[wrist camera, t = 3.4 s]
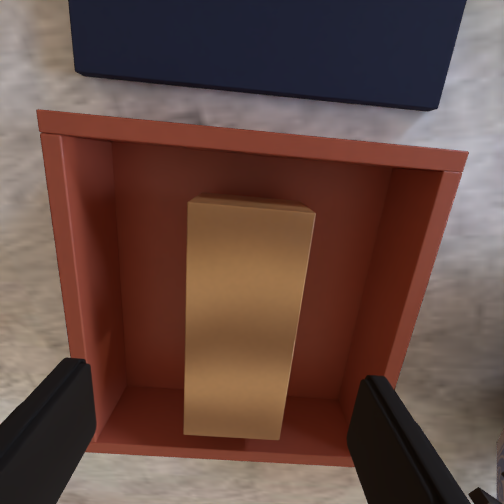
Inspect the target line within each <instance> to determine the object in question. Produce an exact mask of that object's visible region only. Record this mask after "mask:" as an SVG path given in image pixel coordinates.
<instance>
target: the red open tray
mask: <svg viewBox="0 0 504 504" xmlns="http://www.w3.org/2000/svg"><path fill="white" fill-rule="evenodd" d="M36 111H37V119H38V126H39V132H41V134H40V138H41V145H42V152H43V159H44V167H45V174H46V181H47V189H48V196H49V203H50V210H51V218H52V225H53V232H54V240H55V247H56V254H57V262H58V269H59V276H60V283H61V291H62V298H63V305H64V313H65V320H66V327H67V335H68V342H69V349H70V356H71V358H80V359H85V360H86V363H87V364H90V366H91V373H92V383H93V393H94V402H95V412H96V421H97V426H96V431H95V434H94V436H93V438H92V440H91V442H90V444H89V445H88V447H87V449H86V451H85V452H92V453H110V454H128V455H146V456H164V457H181V458H199V459H217V460H235V461H253V462H271V463H289V464H306V465H324V466H342V467H355V466H354V463H353V460H352V458H351V455H350V452H349V449H348V446H347V432H348V428H349V424H350V420H351V417H352V413H353V409H354V405H355V401H356V397H357V393H358V389H359V385H360V382H361V380H362V379H365V377H366V376H367V375H377V376H385V377H386V378H387V380H388V381H389V383H390V384H391V386H392V387H393V389H394V390H395V387H396V384H397V380H398V377H399V374H400V371H401V368H402V364H403V361H404V358H405V355H406V352H407V348H408V345H409V342H410V339H411V336H412V333H413V329H414V326H415V323H416V320H417V317H418V313H419V310H420V307H421V304H422V301H423V297H424V294H425V291H426V288H427V285H428V281H429V278H430V275H431V272H432V269H433V265H434V262H435V259H436V256H437V253H438V249H439V246H440V243H441V240H442V237H443V233H444V230H445V227H446V224H447V221H448V217H449V214H450V211H451V208H452V205H453V202H454V198H455V195H456V192H457V189H458V186H459V182H460V179H461V176H462V173H461V172H463V170H464V166H465V163H466V160H467V157H468V154H469V152H468V151H458V150H448V149H438V148H428V147H418V146H407V145H397V144H387V143H377V142H366V141H356V140H346V139H336V138H325V137H315V136H305V135H295V134H285V133H274V132H264V131H254V130H244V129H233V128H223V127H213V126H203V125H193V124H182V123H172V122H162V121H152V120H141V119H131V118H121V117H111V116H101V115H90V114H80V113H70V112H60V111H49V110H39V109H38V110H36ZM202 192H204V193H215V194H227V195H238V196H249V197H260V198H271V199H283V200H294V201H301V202H302V203H303V204H305V205H306V206H307V207H308V208H310V209H311V210H312V211H313V212H315V213H316V217H315V223H314V229H313V235H312V241H311V248H310V254H309V260H308V266H307V272H306V278H305V285H304V291H303V297H302V303H301V309H300V315H299V322H298V328H297V334H296V340H295V346H294V352H293V359H292V365H291V371H290V377H289V383H288V389H287V396H286V402H285V408H284V414H283V420H282V426H281V433H280V439H279V440H266V439H249V438H232V437H215V436H198V435H184V434H183V427H184V367H185V307H186V246H187V202H188V201H190V200H191V199H193V198H194V197H196V196H197V195H199V194H200V193H202Z"/></svg>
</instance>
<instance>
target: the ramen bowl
mask: <svg viewBox="0 0 504 504" xmlns="http://www.w3.org/2000/svg"><path fill="white" fill-rule="evenodd" d="M468 495H469V497H470V498H471V500H472V501H473V503H474V504H504V429H503V431H502V433H501V435H500V437H499V439H498V441H497V499H495V498H494V497H492V496H491V495H489V494H488V493H486V492H485V491H484V490H482V489H481V488H479V487H478V488H476V489H475V490H473V491H472V492H470V493H469V494H468Z"/></svg>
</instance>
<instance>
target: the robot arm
mask: <svg viewBox="0 0 504 504" xmlns="http://www.w3.org/2000/svg"><path fill="white" fill-rule="evenodd" d="M96 426H97V421H96V412H95V402H94V393H93V383H92V373H91V366H90V364H87V363H86V360H85V359H80V358H64V359H63V360H62V361H61V362H60V363H59V364H58V365H57V366H56V367H55V368H54V369H53V371H52V372H51V373H50V374H49V375H48V376H47V377H46V378H45V379H44V380H43V381H42V382H41V383H40V385H39V386H38V387H37V388H36V389H35V390H34V391H33V392H32V393H31V394H30V395H29V396H28V397H27V398H26V400H25V401H24V402H22V403H21V404H20V405H19V406H18V407H16V409H15V410H14V411H13V412H12V413H11V414H10V415H9V416H8V417H7V418H6V419H5V420H4V421H3V422H2V423H1V425H0V504H56V503H57V501H58V499H59V498H60V496H61V494H62V492H63V490H64V489H65V487H66V485H67V483H68V481H69V480H70V478H71V476H72V474H73V472H74V471H75V469H76V467H77V465H78V463H79V462H80V460H81V458H82V456H83V454H84V453H85V451H86V449H87V447H88V445H89V444H90V442H91V440H92V438H93V436H94V434H95V431H96ZM347 446H348V449H349V452H350V455H351V458H352V460H353V463H354V466H355V469H356V472H357V474H358V477H359V480H360V483H361V485H362V488H363V491H364V494H365V496H366V499H367V502H368V504H471V503H470V502H469V500H468V499H467V497H466V496H465V494H464V493H463V491H462V490H461V488H460V487H459V485H458V484H457V482H456V481H455V479H454V477H453V476H452V474H451V473H450V471H449V470H448V468H447V467H446V465H445V464H444V462H443V461H442V459H441V458H440V456H439V455H438V453H437V452H436V450H435V449H434V447H433V446H432V444H431V443H430V441H429V440H428V438H427V437H426V435H425V434H424V432H423V431H422V429H421V428H420V426H419V425H418V424H417V423H416V422H415V421H414V419H413V418H412V416H411V415H410V413H409V411H408V410H407V408H406V407H405V405H404V404H403V402H402V401H401V399H400V398H399V396H398V395H397V393H396V392H395V390H394V389H393V387H392V386H391V384H390V383H389V381H388V380H387V378H386V377H385V376H377V375H367V376H366V377H365V379H362V380H361V382H360V385H359V389H358V393H357V397H356V401H355V405H354V409H353V413H352V417H351V420H350V424H349V428H348V432H347Z"/></svg>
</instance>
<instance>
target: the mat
mask: <svg viewBox="0 0 504 504" xmlns="http://www.w3.org/2000/svg"><path fill="white" fill-rule="evenodd" d="M466 1H467V0H68V2H69V13H70V24H71V34H72V45H73V55H74V66H75V72H77V73H79V74H81V75H83V76H88V77H97V78H107V79H117V80H127V81H136V82H146V83H156V84H166V85H175V86H185V87H195V88H205V89H214V90H224V91H234V92H244V93H253V94H263V95H273V96H283V97H292V98H302V99H312V100H322V101H332V102H341V103H351V104H361V105H371V106H380V107H390V108H400V109H410V110H419V111H431V110H435V109H437V108H438V105H439V102H440V98H441V94H442V90H443V87H444V83H445V79H446V76H447V72H448V68H449V64H450V61H451V57H452V53H453V49H454V46H455V42H456V38H457V34H458V31H459V27H460V23H461V19H462V16H463V12H464V8H465V5H466Z"/></svg>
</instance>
